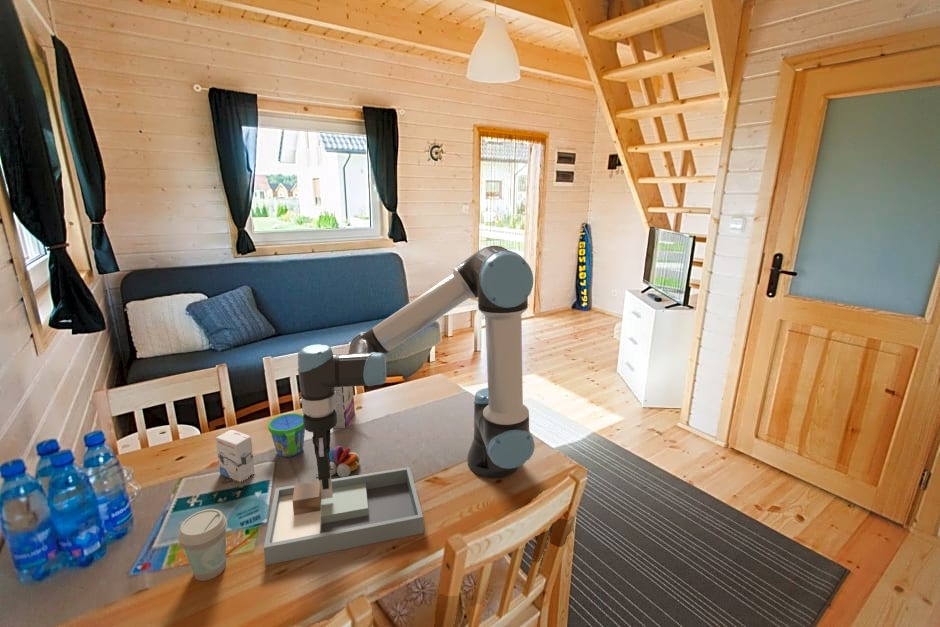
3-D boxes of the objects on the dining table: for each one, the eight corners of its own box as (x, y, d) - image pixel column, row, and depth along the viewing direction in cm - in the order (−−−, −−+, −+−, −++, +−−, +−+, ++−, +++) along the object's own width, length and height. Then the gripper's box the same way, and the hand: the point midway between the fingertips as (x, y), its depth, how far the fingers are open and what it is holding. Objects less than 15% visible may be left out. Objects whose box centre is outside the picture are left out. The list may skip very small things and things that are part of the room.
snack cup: (310, 461, 129) (307, 430, 127) (271, 469, 125) (267, 438, 123) (307, 435, 143) (304, 407, 141) (272, 441, 139) (268, 412, 137)
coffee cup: (200, 594, 87) (190, 543, 83) (178, 574, 91) (168, 526, 88) (241, 564, 94) (234, 517, 90) (219, 547, 98) (211, 501, 95)
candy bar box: (341, 412, 158) (338, 370, 154) (355, 413, 158) (352, 370, 154) (331, 429, 147) (328, 384, 143) (346, 429, 147) (343, 384, 143)
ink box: (219, 474, 123) (213, 437, 120) (235, 465, 127) (230, 428, 124) (241, 483, 119) (235, 445, 116) (256, 473, 124) (251, 436, 121)
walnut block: (321, 494, 112) (320, 481, 111) (320, 510, 106) (319, 496, 105) (296, 499, 110) (294, 485, 109) (294, 515, 104) (292, 501, 103)
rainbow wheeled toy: (350, 481, 121) (349, 458, 119) (318, 476, 123) (316, 453, 121) (364, 463, 129) (362, 441, 127) (333, 459, 131) (332, 437, 129)
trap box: (410, 481, 121) (409, 466, 120) (423, 533, 103) (423, 516, 102) (277, 503, 112) (275, 488, 111) (265, 565, 93) (263, 547, 92)
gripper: (304, 400, 107) (312, 482, 114) (300, 426, 95) (309, 517, 102) (336, 396, 110) (342, 478, 116) (336, 421, 98) (342, 511, 104)
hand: (326, 496), depth 109 cm, fingers closed
